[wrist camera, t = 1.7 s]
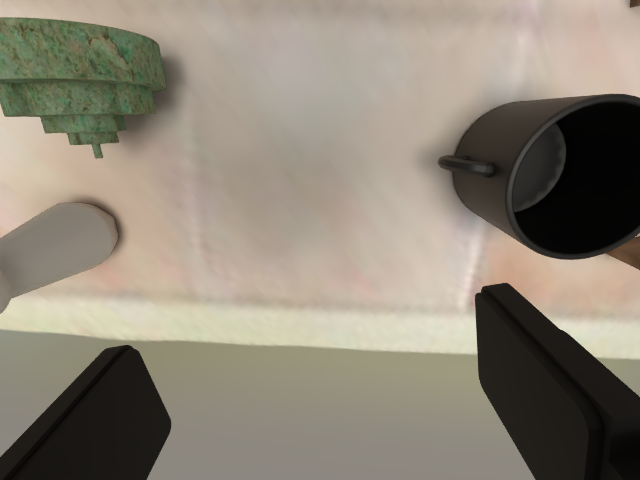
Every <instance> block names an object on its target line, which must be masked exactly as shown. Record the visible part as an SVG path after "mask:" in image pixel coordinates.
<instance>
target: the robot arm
mask: <svg viewBox="0 0 640 480" xmlns="http://www.w3.org/2000/svg"><path fill="white" fill-rule="evenodd" d="M475 307H476V329H477V351H478V372H479V380H480V383H481V386H482V388H483V390H484V392H485V394H486V395H487V397H488V399H489V401H490V402H491V404H492V406H493V407H494V409H495V411H496V413H497V414H498V416H499V418H500V419H501V421H502V423H503V425H504V426H505V428H506V429H507V431H508V433H509V435H510V437H511V438H512V440H513V442H514V443H515V445H516V447H517V449H518V450H519V452H520V454H521V455H522V457H523V459H524V461H525V462H526V464H527V466H528V467H529V469H530V471H531V473H532V474H533V476H534V478H535V479H536V480H640V397H639V396H638V395H637V394H636V393H635V392H633V391H632V390H631V389H630V388H629V387H628V386H627V385H625V384H624V383H623V382H622V381H621V380H620V379H619V378H618V377H616V376H615V375H614V374H613V373H612V372H611V371H610V370H608V369H607V368H606V367H605V366H604V365H603V364H602V363H601V362H599V361H598V360H597V359H596V358H595V357H594V356H593V355H592V354H590V353H589V352H588V351H587V350H586V349H585V348H584V347H582V346H581V345H580V344H579V343H578V342H577V341H576V340H575V339H573V338H572V337H571V336H570V335H569V334H567V333H566V332H564V331H563V330H560V329H559V328H558V327H557V326H555V325H554V324H553V323H552V322H551V321H550V320H549V319H548V318H547V317H545V316H544V315H543V314H542V313H541V312H540V311H539V310H538V309H536V308H535V307H534V306H533V305H532V304H531V303H530V302H529V301H528V300H526V299H525V298H524V297H523V296H522V295H521V294H520V293H519V292H517V291H516V290H515V289H514V288H513V287H512V286H511V285H510V284H508V283H501V284H495V285H489V286H484V287H482V290H481V293H477V294H476V295H475ZM170 429H171V420H170V417H169V415H168V413H167V410H166V409H165V406H164V404H163V402H162V400H161V398H160V396H159V393H158V391H157V389H156V387H155V385H154V383H153V381H152V379H151V376H150V375H149V372H148V370H147V368H146V366H145V364H144V361H143V359H142V357H141V355H140V353H139V352H138V351H137V350H136V349H134V348H132V346H129V345H123V346H117V347H111V348H107V349H105V350H104V351H102V353H100V355H99V356H98V357H97V358H96V359H95V360H94V361H93V362H92V363H91V364H90V365H89V366H88V367H87V368H86V369H85V370H84V371H83V372H82V373H81V374H80V375H79V376H78V377H77V378H76V379H75V381H73V383H72V384H71V385H70V386H69V387H68V388H67V389H66V390H65V391H64V392H63V393H62V394H61V395H60V396H59V397H58V398H57V399H56V400H55V401H54V402H53V403H52V404H51V405H50V406H49V407H48V408H47V409H46V411H45V412H44V413H43V414H42V415H41V416H40V417H39V418H38V419H37V420H36V421H35V422H34V423H33V424H32V425H31V426H30V427H29V428H28V429H27V430H26V431H25V432H24V433H23V434H22V435H21V436H20V437H19V438H18V439H17V441H16V442H15V443H14V444H13V445H12V446H11V447H10V448H9V449H8V450H7V451H6V452H5V453H4V454H3V455H2V456H1V457H0V480H146V479H147V477H148V475H149V473H150V471H151V469H152V467H153V465H154V463H155V461H156V459H157V457H158V455H159V453H160V451H161V449H162V447H163V445H164V443H165V441H166V439H167V437H168V435H169V433H170Z"/></svg>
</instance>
